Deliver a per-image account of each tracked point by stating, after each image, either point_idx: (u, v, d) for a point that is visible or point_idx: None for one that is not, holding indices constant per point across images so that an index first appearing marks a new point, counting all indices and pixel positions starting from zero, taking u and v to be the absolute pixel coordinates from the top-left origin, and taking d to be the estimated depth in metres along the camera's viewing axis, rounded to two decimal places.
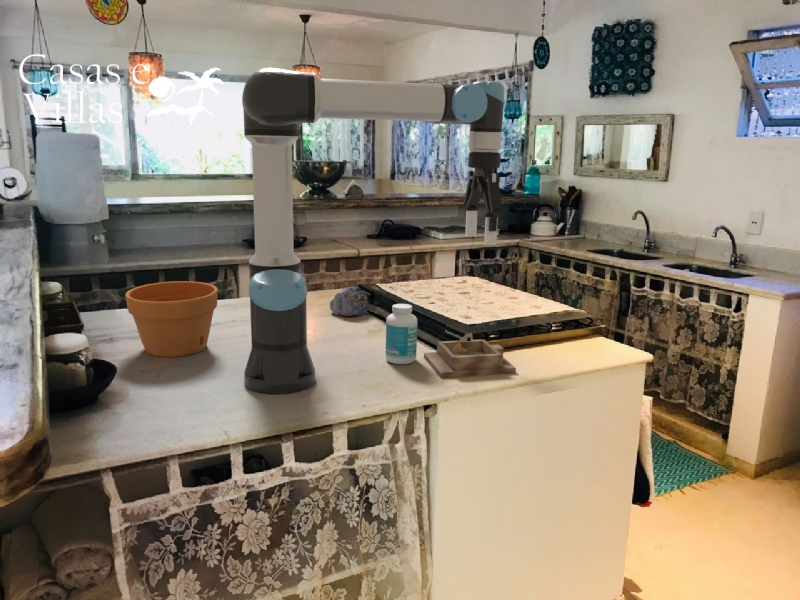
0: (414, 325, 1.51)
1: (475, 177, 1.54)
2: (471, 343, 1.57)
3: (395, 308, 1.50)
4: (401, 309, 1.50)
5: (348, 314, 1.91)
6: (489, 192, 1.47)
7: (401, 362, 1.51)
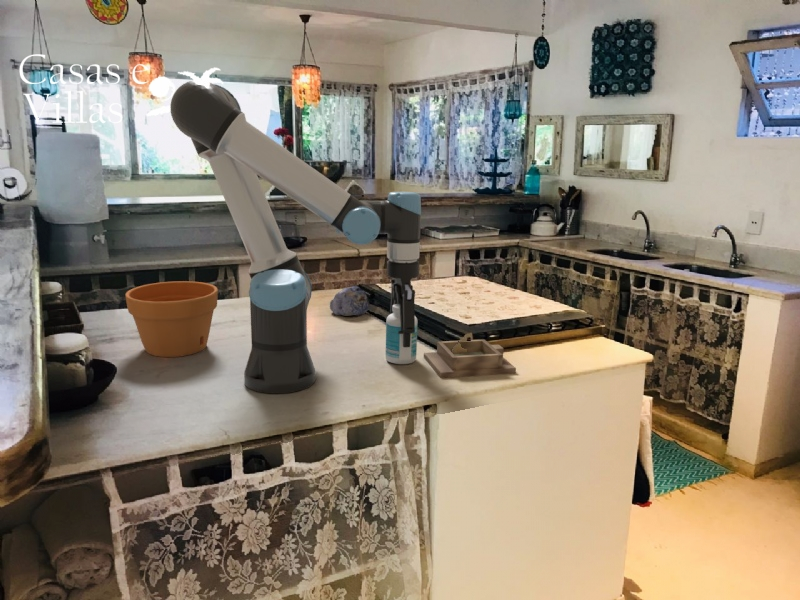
0: None
1: (394, 284, 1.51)
2: (471, 343, 1.57)
3: (395, 308, 1.50)
4: None
5: (348, 314, 1.91)
6: (403, 309, 1.45)
7: (401, 362, 1.51)
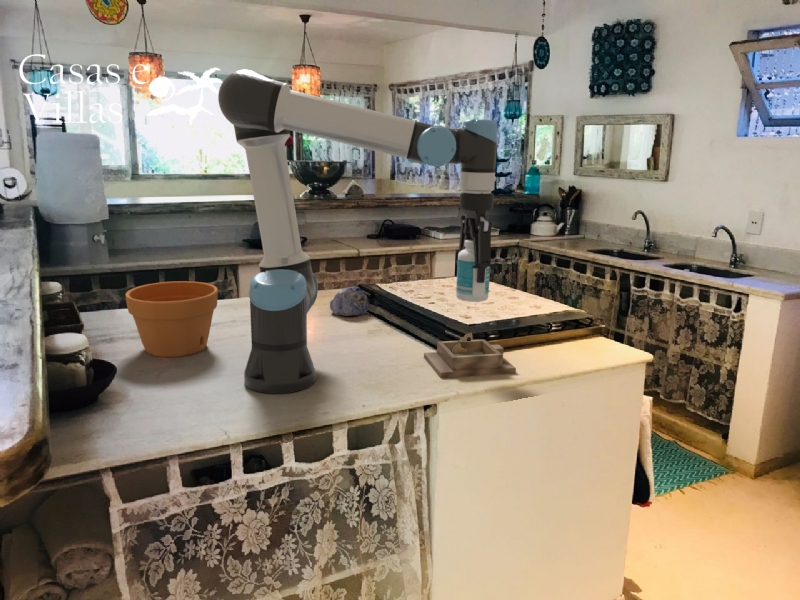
0: None
1: (467, 218, 1.45)
2: (471, 343, 1.57)
3: (468, 242, 1.44)
4: None
5: (348, 314, 1.91)
6: (479, 242, 1.39)
7: (474, 299, 1.45)
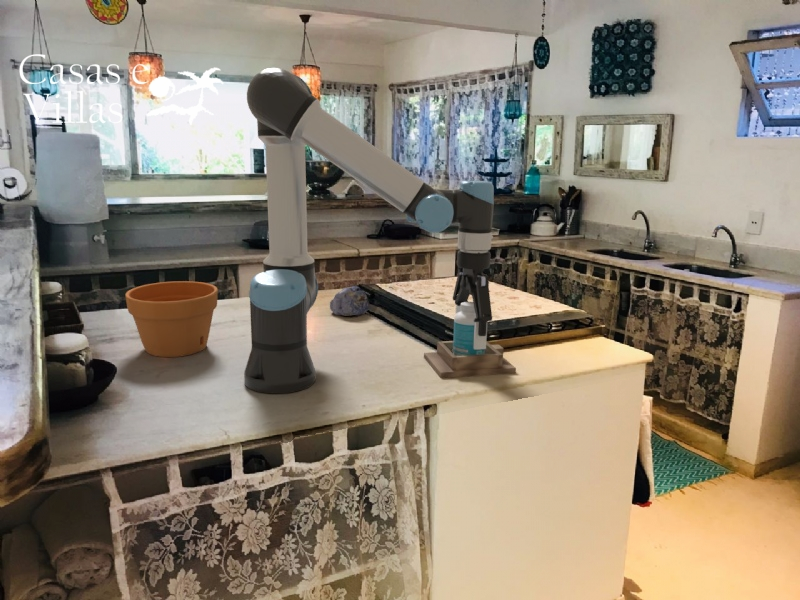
0: None
1: (464, 276, 1.48)
2: None
3: (464, 306, 1.48)
4: (470, 307, 1.47)
5: (348, 314, 1.91)
6: (478, 296, 1.41)
7: None
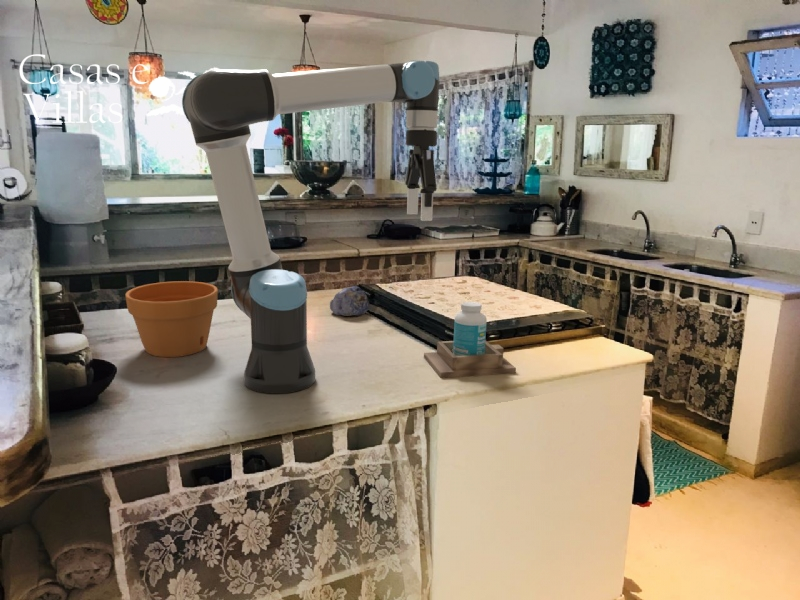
0: (484, 324, 1.48)
1: (413, 155, 1.58)
2: None
3: (465, 306, 1.48)
4: (471, 307, 1.47)
5: (348, 314, 1.91)
6: (424, 168, 1.51)
7: None
